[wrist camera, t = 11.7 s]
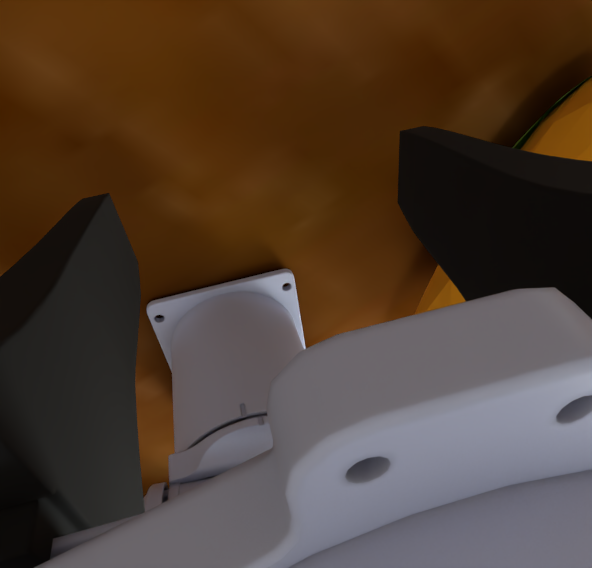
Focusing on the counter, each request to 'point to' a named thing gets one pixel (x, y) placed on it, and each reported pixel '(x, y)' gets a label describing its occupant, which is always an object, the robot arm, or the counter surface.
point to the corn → (543, 140)
